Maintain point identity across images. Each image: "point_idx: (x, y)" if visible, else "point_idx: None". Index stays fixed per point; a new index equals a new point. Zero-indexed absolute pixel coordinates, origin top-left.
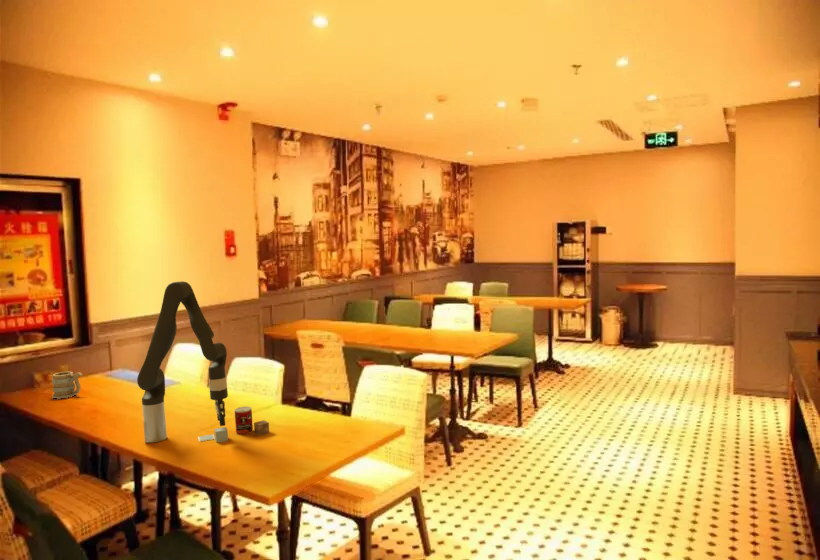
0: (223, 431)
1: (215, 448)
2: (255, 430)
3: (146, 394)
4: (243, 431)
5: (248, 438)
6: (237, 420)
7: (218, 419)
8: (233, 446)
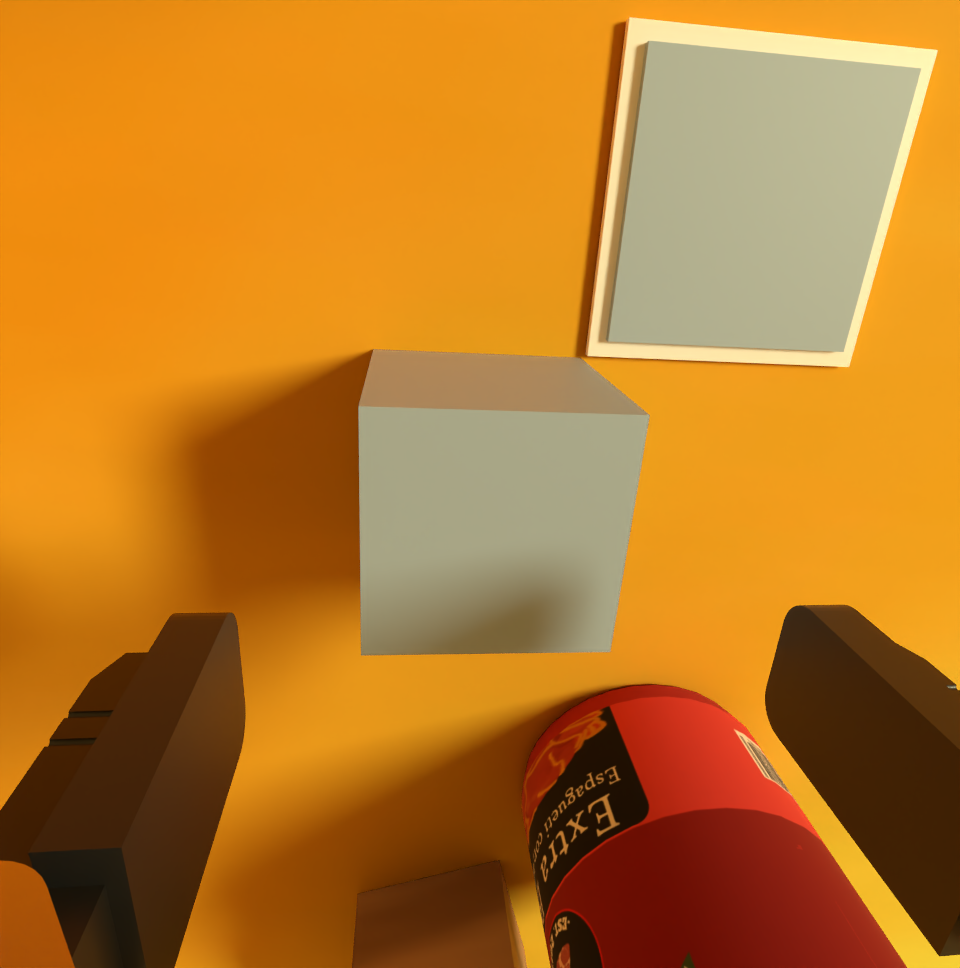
0: (361, 569)
1: (29, 279)
2: (470, 910)
3: None
4: (528, 790)
5: (314, 785)
6: (650, 910)
7: (815, 637)
8: (21, 576)
